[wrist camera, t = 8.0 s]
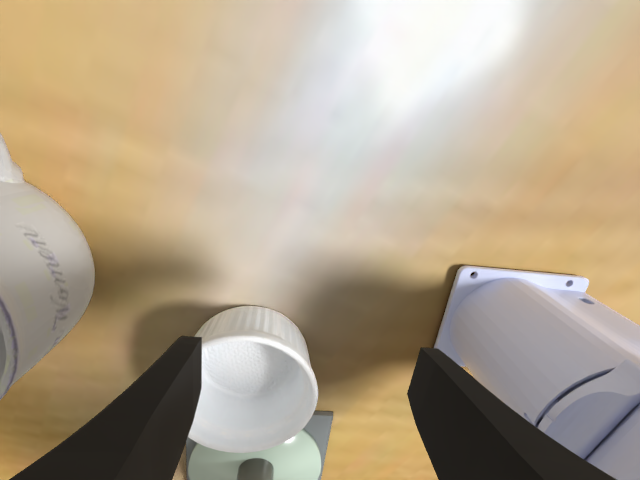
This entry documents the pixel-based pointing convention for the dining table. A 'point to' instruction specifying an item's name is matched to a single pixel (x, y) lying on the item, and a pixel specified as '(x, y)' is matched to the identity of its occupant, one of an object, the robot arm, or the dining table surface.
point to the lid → (259, 462)
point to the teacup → (36, 273)
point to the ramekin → (252, 381)
